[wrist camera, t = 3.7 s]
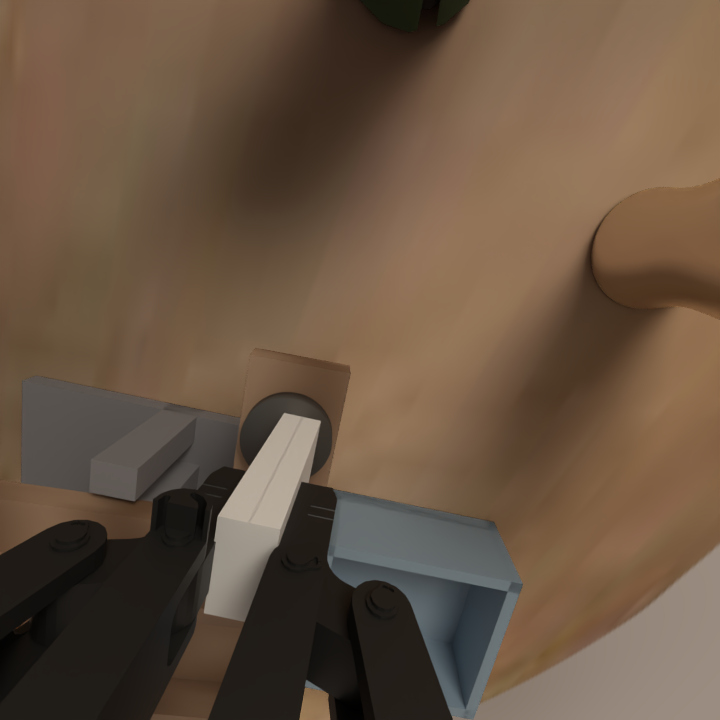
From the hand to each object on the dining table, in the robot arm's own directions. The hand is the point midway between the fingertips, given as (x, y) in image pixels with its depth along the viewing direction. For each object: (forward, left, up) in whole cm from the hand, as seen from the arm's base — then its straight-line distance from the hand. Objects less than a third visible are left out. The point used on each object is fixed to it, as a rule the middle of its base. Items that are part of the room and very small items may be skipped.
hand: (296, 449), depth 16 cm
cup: (+7, -11, -8) cm, 15 cm away
